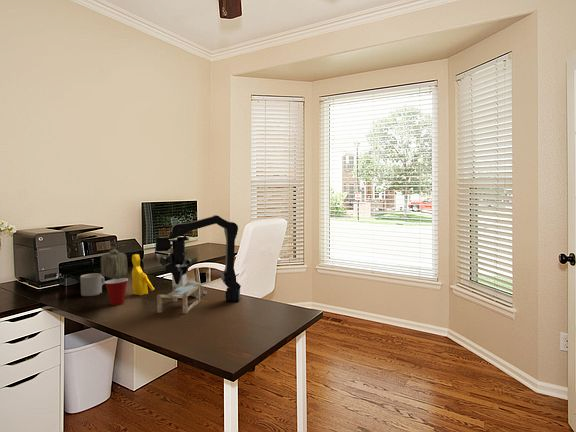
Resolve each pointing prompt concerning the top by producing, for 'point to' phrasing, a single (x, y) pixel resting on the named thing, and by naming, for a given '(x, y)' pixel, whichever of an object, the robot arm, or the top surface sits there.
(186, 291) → the flap
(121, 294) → the plastic cup
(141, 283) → the figure statuette
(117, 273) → the tabletop clock
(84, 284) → the coffee mug
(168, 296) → the birch frame
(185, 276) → the steel cube
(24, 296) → the top surface
